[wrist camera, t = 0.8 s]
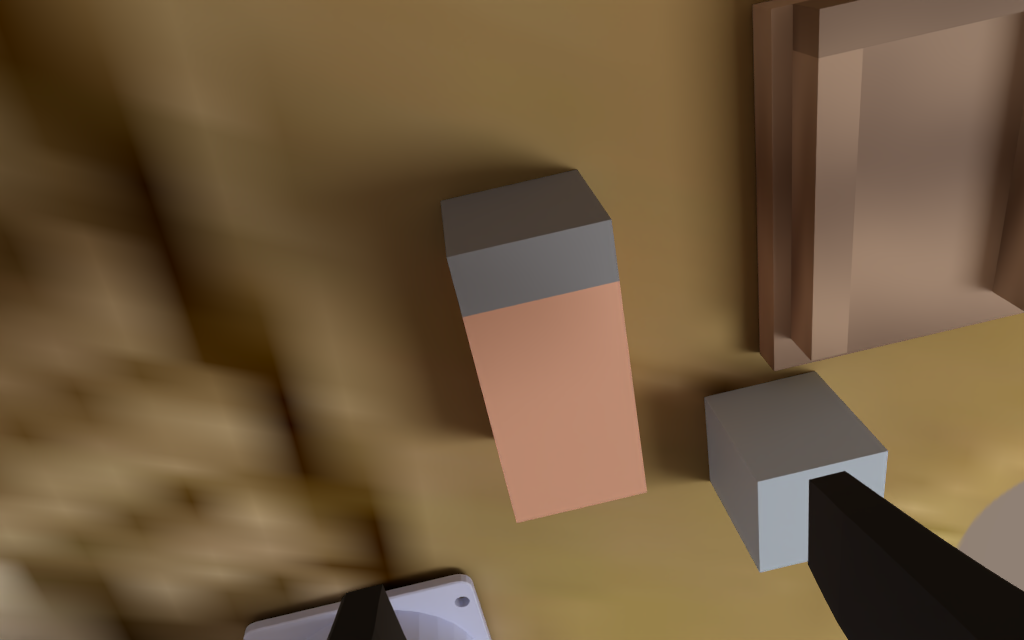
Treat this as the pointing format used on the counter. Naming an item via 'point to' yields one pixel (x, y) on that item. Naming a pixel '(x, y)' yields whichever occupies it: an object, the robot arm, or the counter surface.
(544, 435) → the two-tone peach block
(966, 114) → the jig
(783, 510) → the pale blue-grey cube
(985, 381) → the counter surface
